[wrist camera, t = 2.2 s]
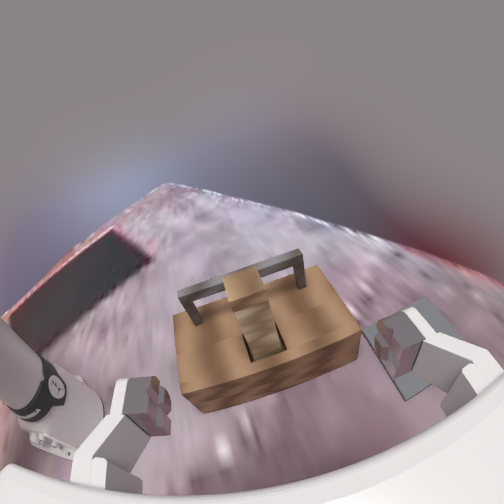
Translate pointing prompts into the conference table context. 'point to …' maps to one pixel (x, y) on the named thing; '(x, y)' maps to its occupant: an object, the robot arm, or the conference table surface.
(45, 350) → the conference table surface
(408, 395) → the slate mat
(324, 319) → the toolbox
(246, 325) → the wooden key
